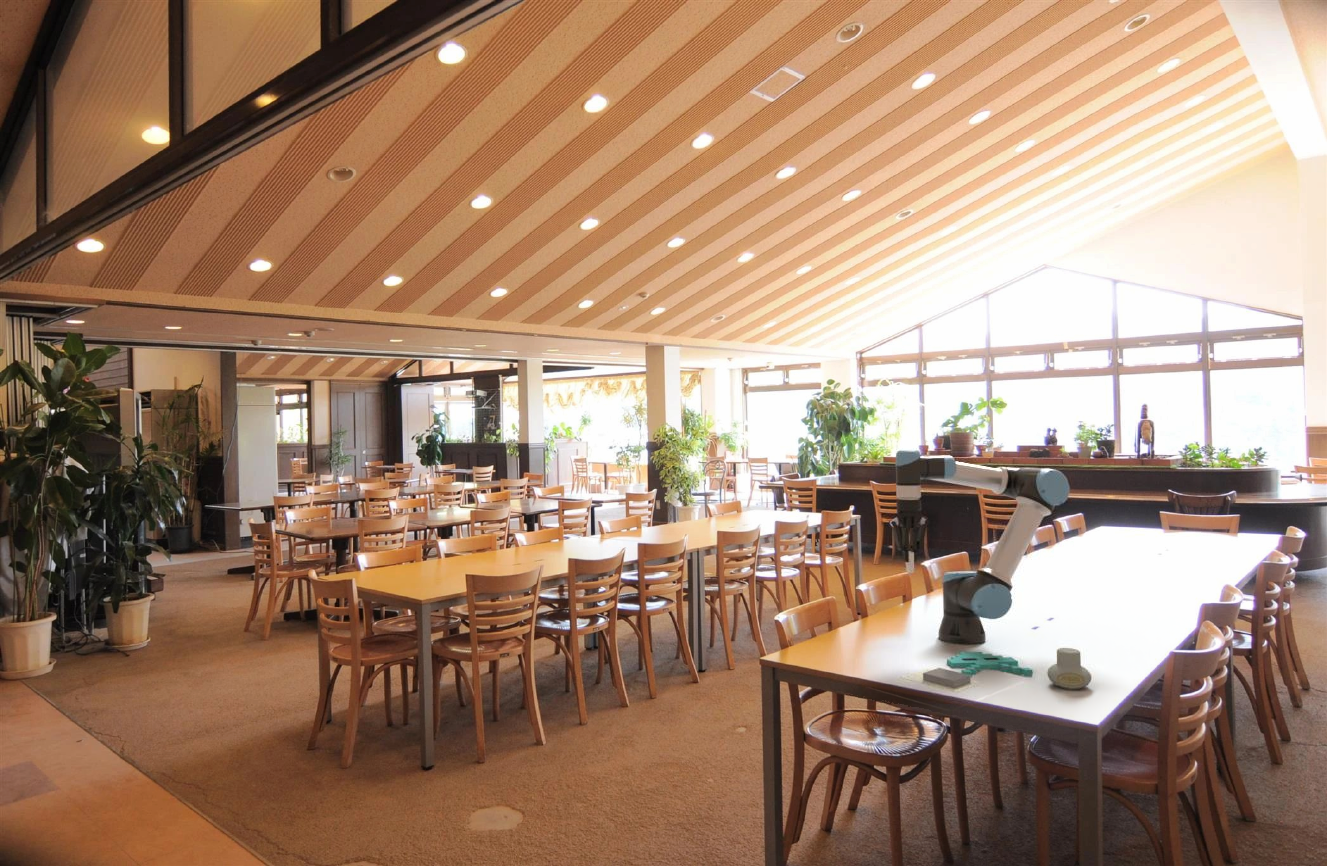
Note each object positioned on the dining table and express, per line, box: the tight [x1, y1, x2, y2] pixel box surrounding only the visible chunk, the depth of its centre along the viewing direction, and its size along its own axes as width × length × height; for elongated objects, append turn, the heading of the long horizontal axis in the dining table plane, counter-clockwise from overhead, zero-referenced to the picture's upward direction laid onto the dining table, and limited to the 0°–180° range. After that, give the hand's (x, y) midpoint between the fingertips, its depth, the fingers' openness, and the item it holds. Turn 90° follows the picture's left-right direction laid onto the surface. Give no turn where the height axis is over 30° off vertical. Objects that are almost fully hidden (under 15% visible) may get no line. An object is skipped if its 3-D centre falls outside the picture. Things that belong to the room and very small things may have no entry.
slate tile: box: [923, 667, 972, 688], centre depth 232 cm, size 2×8×10 cm
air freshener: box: [1046, 647, 1092, 691], centre depth 227 cm, size 11×8×10 cm
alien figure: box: [946, 651, 1033, 677], centre depth 247 cm, size 20×2×20 cm
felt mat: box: [900, 668, 983, 693], centre depth 234 cm, size 18×13×1 cm
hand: (910, 572), depth 262 cm, fingers closed
